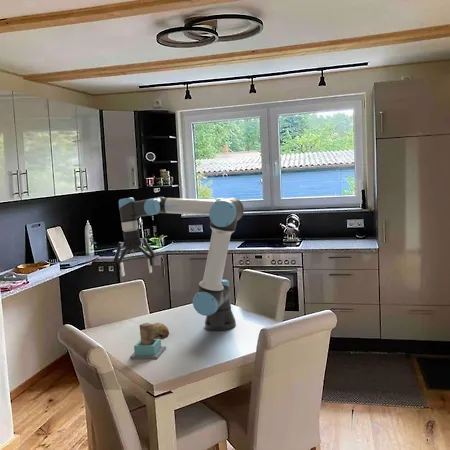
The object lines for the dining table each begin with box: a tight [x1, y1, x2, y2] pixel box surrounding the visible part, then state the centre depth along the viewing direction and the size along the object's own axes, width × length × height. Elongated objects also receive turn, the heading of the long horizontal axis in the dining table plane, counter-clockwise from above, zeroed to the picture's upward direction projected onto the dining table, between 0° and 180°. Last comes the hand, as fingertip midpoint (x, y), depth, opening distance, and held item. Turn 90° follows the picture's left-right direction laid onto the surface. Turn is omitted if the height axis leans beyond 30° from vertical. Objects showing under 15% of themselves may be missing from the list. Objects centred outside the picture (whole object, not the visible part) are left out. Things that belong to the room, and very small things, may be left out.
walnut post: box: [139, 322, 154, 345], centre depth 223 cm, size 4×4×12 cm
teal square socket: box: [129, 338, 167, 360], centre depth 223 cm, size 12×12×5 cm
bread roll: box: [152, 322, 170, 339], centre depth 247 cm, size 10×10×8 cm
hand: (137, 274), depth 249 cm, fingers open, 13 cm apart
